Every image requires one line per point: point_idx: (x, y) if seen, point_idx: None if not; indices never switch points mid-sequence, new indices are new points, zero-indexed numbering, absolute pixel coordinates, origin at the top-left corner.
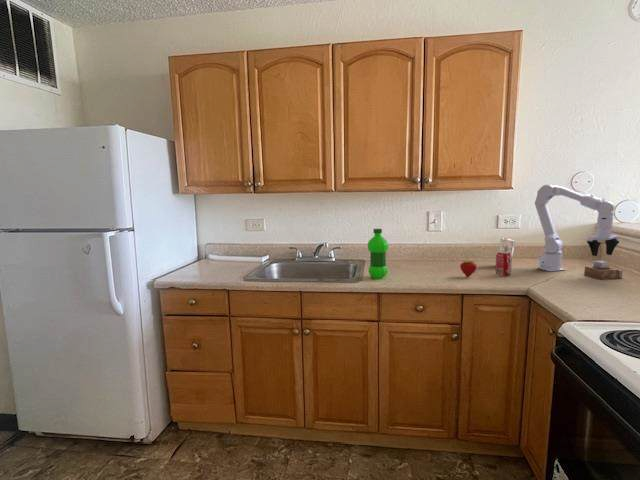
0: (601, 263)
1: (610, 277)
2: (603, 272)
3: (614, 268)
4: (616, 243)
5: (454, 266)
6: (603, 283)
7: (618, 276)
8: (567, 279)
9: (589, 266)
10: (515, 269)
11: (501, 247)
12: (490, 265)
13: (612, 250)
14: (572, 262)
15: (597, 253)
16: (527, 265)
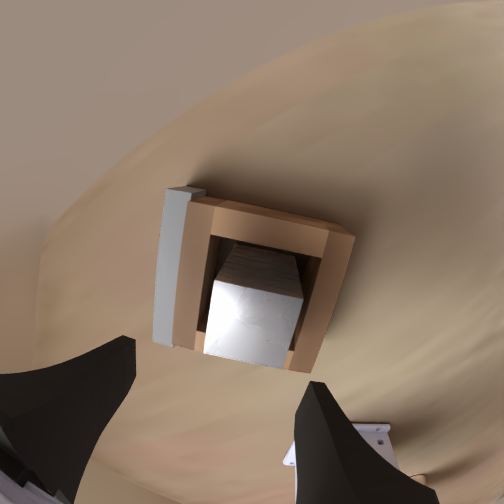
0: (302, 296)
1: (264, 208)
2: (333, 228)
3: (183, 239)
4: (8, 388)
5: (483, 476)
6: (419, 155)
7: (203, 193)
8: (474, 298)
9: (287, 359)
10: (435, 456)
11: None
12: None
13: (96, 357)
14: (138, 453)
15: (317, 397)
16: None
